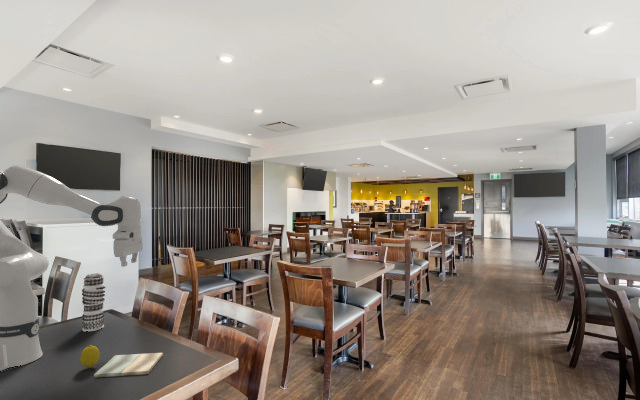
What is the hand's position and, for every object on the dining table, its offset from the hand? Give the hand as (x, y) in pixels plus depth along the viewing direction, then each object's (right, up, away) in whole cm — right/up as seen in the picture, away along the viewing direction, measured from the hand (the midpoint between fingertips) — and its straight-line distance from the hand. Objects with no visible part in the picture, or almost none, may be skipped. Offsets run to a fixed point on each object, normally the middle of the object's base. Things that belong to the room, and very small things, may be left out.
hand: (129, 264), depth 145 cm
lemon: (+4, -31, -30) cm, 43 cm away
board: (+17, -31, -28) cm, 45 cm away
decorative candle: (-22, -32, +8) cm, 39 cm away
